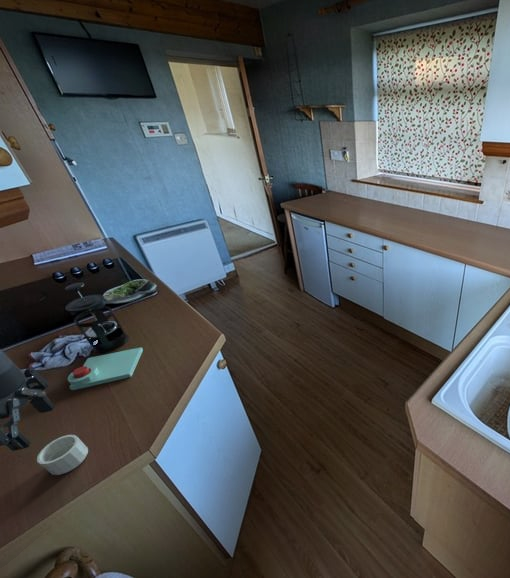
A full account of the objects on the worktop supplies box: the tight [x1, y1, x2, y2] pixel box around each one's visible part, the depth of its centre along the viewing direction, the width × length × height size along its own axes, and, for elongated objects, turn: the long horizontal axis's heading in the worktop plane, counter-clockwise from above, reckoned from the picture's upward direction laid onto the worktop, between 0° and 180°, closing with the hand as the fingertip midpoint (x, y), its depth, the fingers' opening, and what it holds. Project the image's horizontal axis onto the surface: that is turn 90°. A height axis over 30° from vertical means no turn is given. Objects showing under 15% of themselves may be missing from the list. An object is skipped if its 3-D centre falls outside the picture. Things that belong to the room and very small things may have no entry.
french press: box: [64, 282, 130, 354], centre depth 93 cm, size 12×9×23 cm
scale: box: [66, 347, 144, 391], centre depth 88 cm, size 15×12×3 cm
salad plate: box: [102, 278, 158, 305], centre depth 122 cm, size 19×18×5 cm
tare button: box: [71, 365, 90, 378], centre depth 83 cm, size 3×3×2 cm
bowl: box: [36, 434, 89, 476], centre depth 65 cm, size 6×6×5 cm
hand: (36, 427), depth 59 cm, fingers open, 8 cm apart
